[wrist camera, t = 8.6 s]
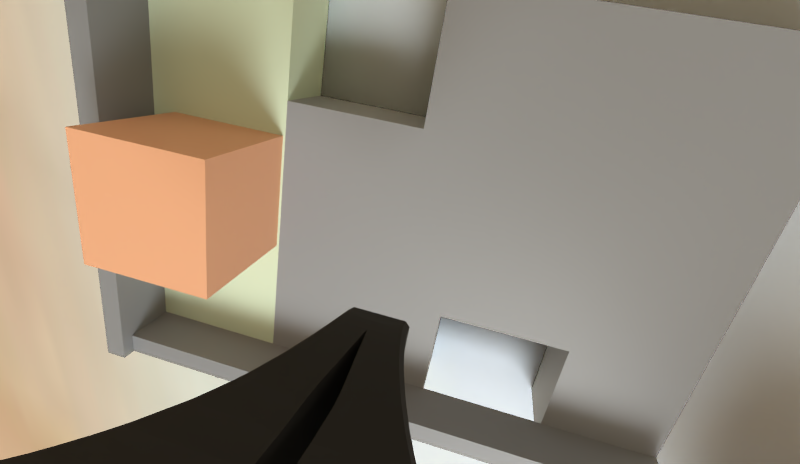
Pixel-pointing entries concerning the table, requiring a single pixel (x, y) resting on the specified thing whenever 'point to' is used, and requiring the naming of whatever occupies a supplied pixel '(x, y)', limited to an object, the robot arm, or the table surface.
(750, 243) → the board
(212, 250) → the block
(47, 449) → the robot arm
